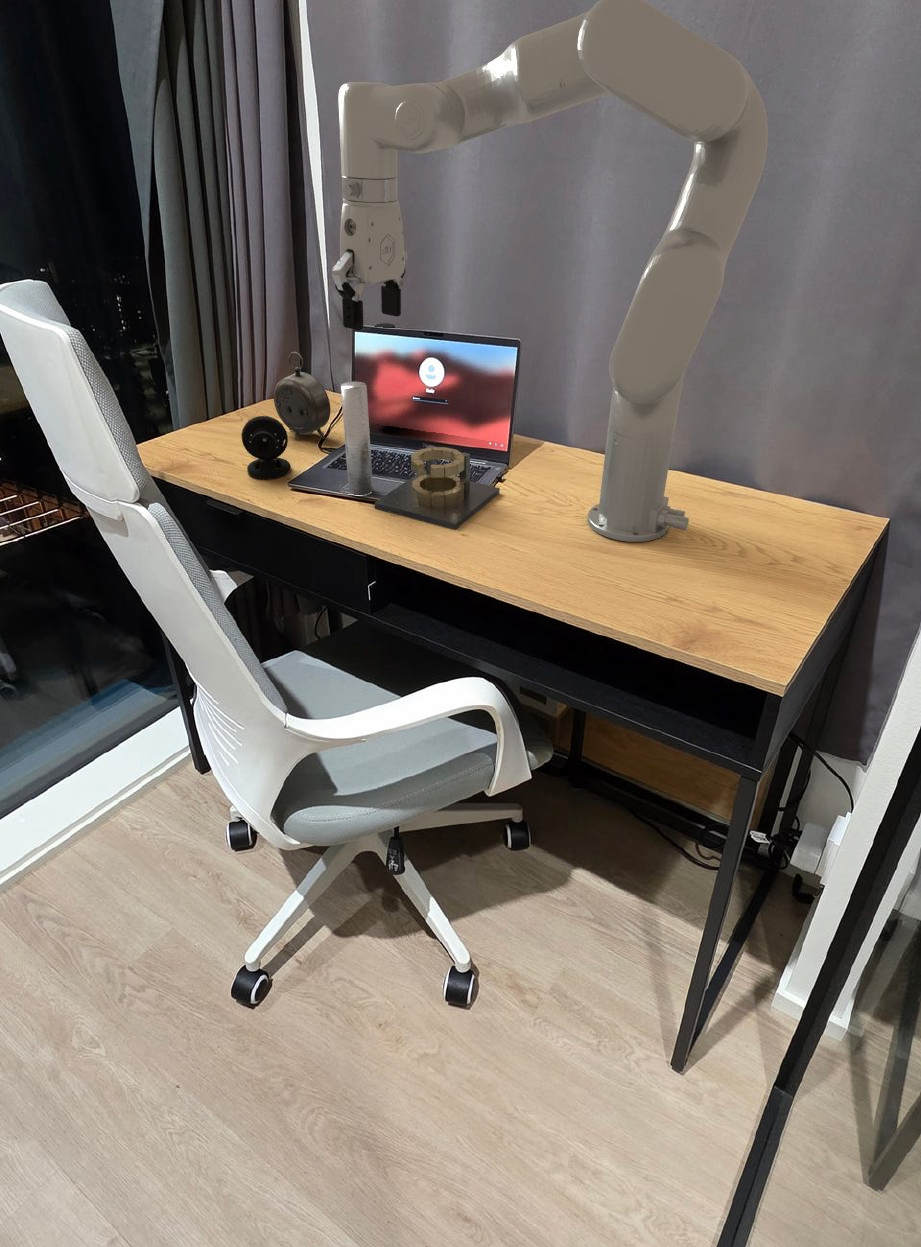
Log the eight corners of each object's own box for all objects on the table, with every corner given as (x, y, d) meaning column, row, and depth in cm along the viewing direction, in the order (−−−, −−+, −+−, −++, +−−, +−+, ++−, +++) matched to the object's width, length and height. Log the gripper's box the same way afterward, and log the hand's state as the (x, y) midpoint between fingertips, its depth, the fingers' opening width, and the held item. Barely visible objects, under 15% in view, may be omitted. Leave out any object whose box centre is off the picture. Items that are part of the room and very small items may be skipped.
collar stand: (499, 493, 133) (500, 450, 129) (455, 529, 122) (455, 484, 118) (423, 475, 139) (422, 433, 135) (374, 508, 128) (372, 464, 124)
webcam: (245, 481, 137) (236, 425, 131) (249, 464, 143) (240, 409, 137) (290, 479, 138) (283, 423, 132) (292, 462, 144) (286, 408, 138)
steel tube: (377, 490, 134) (371, 384, 124) (364, 499, 131) (356, 391, 121) (357, 485, 136) (349, 379, 125) (343, 493, 133) (334, 386, 123)
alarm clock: (334, 438, 153) (327, 353, 144) (316, 447, 149) (307, 360, 140) (292, 427, 158) (282, 344, 149) (273, 435, 154) (261, 350, 145)
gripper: (354, 200, 101) (359, 338, 110) (426, 189, 113) (424, 314, 123) (307, 194, 103) (316, 329, 113) (383, 183, 116) (384, 306, 126)
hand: (372, 321), depth 118 cm, fingers open, 9 cm apart
